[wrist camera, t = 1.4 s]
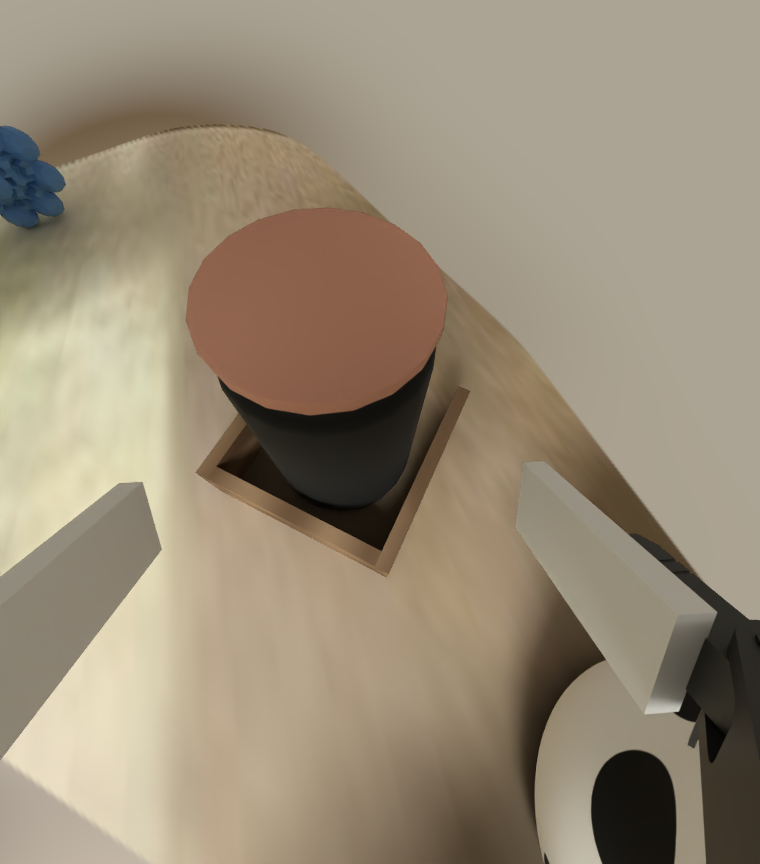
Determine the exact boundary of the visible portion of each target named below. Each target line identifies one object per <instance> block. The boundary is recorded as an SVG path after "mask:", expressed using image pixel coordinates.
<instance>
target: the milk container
mask: <svg viewBox="0 0 760 864" xmlns="http://www.w3.org/2000/svg"><path fill="white" fill-rule="evenodd" d="M700 711H701V707H700V706H699V705H698V704H697V703H696V701H695V700H694V699H693V698H692V697H691V695H690V694H689V693H688V692H686V694H685V697H684V699H683V702H682V705H681V707H680V710H679V712H667V713H656V714H645V715H644V714H643V712H642V711H641V709H640V708H639V706H638V705H637V704H636V702H635V701H634V699H633V698H632V696H631V695H630V693H629V692H628V691H627V689H626V688H625V686H624V685H623V683H622V682H621V680H620V679H619V677H618V676H617V675H616V673H615V672H614V670H613V669H612V667H611V666H610V664H609V663H608V662H607V660H605V661H602V662H600V663H598V664H596V665H594V666H592V667H591V668H589V669H588V670H586V671H585V672H584V673H582V674H581V675H580V676H579V677H577V678H576V679H575V680H574V681H573V682H572V683H571V684H570V686H569V687H568V688H567V689H566V690H565V691H564V693H563V694H562V696H561V697H560V699H559V700H558V702H557V703H556V705H555V707H554V709H553V711H552V713H551V715H550V717H549V719H548V722H547V724H546V727H545V730H544V733H543V736H542V740H541V743H540V747H539V753H538V758H537V764H536V775H535V814H536V824H537V832H538V838H539V844H540V850H541V854H542V858H543V862H544V864H706V853H705V837H704V820H703V804H702V787H701V771H700V754H699V740H698V741H697V744H696V746H695V748H692V747H690V746H688V741H689V737H690V735H691V732H692V730H693V728H694V725H695V723H696V720H697V718H698V716H699V713H700Z"/></svg>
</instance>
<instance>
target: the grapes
mask: <svg viewBox="0 0 760 864" xmlns="http://www.w3.org/2000/svg"><path fill="white" fill-rule="evenodd" d="M39 156H40V152H39V148H38V146H37V145H36V143H35V142H34V141H33V140H32V139H31V138H30V137H29V136H28V135H27V134H25V133H24V132H22V131H20V130H18V129H16V128H14V127H10V126H0V215H1V216H2V217H3V218H5V219H6V220H7V221H8V222H10V223H12V224H14V225H16V226H21V227H27V228H29V227H33V226H35V225H36V224H37V223H38V221H39V217H38V214H37V213H36V212H38V213H40V214H42V215H46V216H52V217H55V216H59V215H61V214H62V212H63V210H64V206H63V203H62V201H61V200H60V199H59V198H58V197H57V196H56V195H55V194H54V193H55V192H60V191H62V190H63V188H64V187H65V185H66V184H65V180H64V177H63V176H62V175H61V173H60V172H59V171H58V170H57V169H56V168H55V167H53V166H51V165H50V164H48V163H46V162H43V161H39V160H37V159H38V157H39ZM53 192H54V193H53Z"/></svg>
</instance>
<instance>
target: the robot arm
mask: <svg viewBox="0 0 760 864" xmlns="http://www.w3.org/2000/svg"><path fill="white" fill-rule="evenodd" d="M515 528H516V530H517V531H518V533H519V534H520V536H521V537H522V539H523V540H524V541H525V543H526V544H527V546H528V547H529V549H530V550H531V552H532V553H533V554H534V556H535V557H536V559H537V560H538V562H539V563H540V565H541V566H542V567H543V569H544V570H545V572H546V573H547V575H548V576H549V578H550V579H551V581H552V582H553V583H554V585H555V586H556V588H557V589H558V591H559V592H560V594H561V595H562V596H563V598H564V599H565V601H566V602H567V604H568V605H569V607H570V608H571V609H572V611H573V612H574V614H575V615H576V617H577V618H578V620H579V621H580V622H581V624H582V625H583V627H584V628H585V630H586V631H587V633H588V634H589V636H590V637H591V638H592V640H593V641H594V643H595V644H596V646H597V647H598V649H599V650H600V651H601V653H602V654H603V656H604V657H605V659H606V660H607V662H608V663H609V664H610V666H611V667H612V669H613V670H614V672H615V673H616V675H617V676H618V677H619V679H620V680H621V682H622V683H623V685H624V686H625V688H626V689H627V691H628V692H629V693H630V695H631V696H632V698H633V699H634V701H635V702H636V704H637V705H638V706H639V708H640V709H641V711H642V712H643V714H644V715H645V714H656V713H667V712H679V710H680V707H681V705H682V702H683V699H684V697H685V694H686V692H688V693H689V694H690V695H691V697H692V698H693V699H694V700H695V701H696V703H697V704H698V705H699V706H700V707H701V711H700V713H699V716H698V718H697V720H696V723H695V725H694V728H693V730H692V732H691V735H690V737H689V741H688V746H690V747H692V748H695V746H696V744H697V741H698V740H699V754H700V771H701V787H702V804H703V820H704V837H705V853H706V864H760V620H749V619H748V618H746V617H745V616H744V615H743V614H741V613H740V612H739V611H738V610H737V609H735V608H734V607H733V606H732V605H730V604H729V603H728V602H727V601H725V600H724V599H723V598H722V597H721V596H719V595H718V594H717V593H716V592H715V591H713V590H712V589H711V588H710V587H709V586H707V585H706V584H705V583H704V582H702V581H701V580H700V579H699V578H698V577H696V576H695V575H694V574H690V572H689V570H688V569H687V568H685V567H684V566H683V565H682V564H681V563H679V562H676V561H675V559H674V558H673V557H672V556H671V555H670V554H668V553H667V552H666V551H665V550H663V549H662V548H661V547H660V546H659V545H657V544H655V543H653V542H651V541H649V540H648V539H646V538H644V537H642V536H640V535H638V534H627V533H626V532H625V531H624V530H622V529H621V528H620V527H619V526H618V525H617V524H616V523H614V522H613V521H612V520H611V519H610V518H609V517H608V516H606V515H605V514H604V513H603V512H602V511H601V510H600V509H598V508H597V507H596V506H595V505H594V504H593V503H592V502H590V501H589V500H588V499H587V498H586V497H585V496H583V495H582V494H581V493H580V492H579V491H578V490H577V489H575V488H574V487H573V486H572V485H571V484H570V483H569V482H567V481H566V480H565V479H564V478H563V477H562V476H561V475H559V474H558V473H557V472H556V471H555V470H554V469H552V468H551V467H550V466H549V465H548V464H547V463H546V462H544V461H541V462H523V468H522V476H521V485H520V493H519V501H518V509H517V517H516V525H515ZM161 550H162V549H161V545H160V542H159V538H158V535H157V531H156V528H155V524H154V521H153V517H152V514H151V510H150V507H149V503H148V500H147V496H146V493H145V489H144V486H143V482H135V483H119V484H117V485H116V486H115V487H114V488H112V489H111V490H110V491H109V492H107V493H106V494H105V495H104V496H102V497H101V498H100V499H98V500H97V501H96V502H95V503H93V504H92V505H91V506H90V507H88V508H87V509H86V510H85V511H83V512H82V513H81V514H79V515H78V516H77V517H76V518H74V519H73V520H72V521H71V522H69V523H68V524H67V525H66V526H64V527H63V528H62V529H60V530H59V531H58V532H57V533H55V534H54V535H53V536H52V537H50V538H49V539H48V540H47V541H45V542H44V543H43V544H41V545H40V546H39V547H38V548H36V549H35V550H34V551H33V552H31V553H30V554H29V555H28V556H26V557H25V558H24V559H22V560H21V561H20V562H19V563H17V564H16V565H15V566H14V567H12V568H11V569H10V570H9V571H7V572H6V573H5V574H3V575H2V576H1V577H0V760H1V759H2V757H3V756H4V755H5V753H6V752H7V751H8V749H9V748H10V747H11V746H12V744H13V743H14V742H15V740H16V739H17V738H18V736H19V735H20V734H21V733H22V731H23V730H24V729H25V727H26V726H27V725H28V723H29V722H30V721H31V719H32V718H33V717H34V716H35V714H36V713H37V712H38V710H39V709H40V708H41V706H42V705H43V704H44V702H45V701H46V700H47V699H48V697H49V696H50V695H51V693H52V692H53V691H54V689H55V688H56V687H57V686H58V684H59V683H60V682H61V680H62V679H63V678H64V676H65V675H66V674H67V672H68V671H69V670H70V669H71V667H72V666H73V665H74V663H75V662H76V661H77V659H78V658H79V657H80V655H81V654H82V653H83V652H84V650H85V649H86V648H87V646H88V645H89V644H90V642H91V641H92V640H93V639H94V637H95V636H96V635H97V633H98V632H99V631H100V629H101V628H102V627H103V625H104V624H105V623H106V622H107V620H108V619H109V618H110V616H111V615H112V614H113V612H114V611H115V610H116V609H117V607H118V606H119V605H120V603H121V602H122V601H123V599H124V598H125V597H126V595H127V594H128V593H129V592H130V590H131V589H132V588H133V586H134V585H135V584H136V582H137V581H138V580H139V578H140V577H141V576H142V575H143V573H144V572H145V571H146V569H147V568H148V567H149V565H150V564H151V563H152V562H153V560H154V559H155V558H156V556H157V555H158V554H159V552H160V551H161Z"/></svg>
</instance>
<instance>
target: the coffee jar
mask: <svg viewBox="0 0 760 864" xmlns="http://www.w3.org/2000/svg"><path fill="white" fill-rule="evenodd" d="M447 299H448V298H447V294H446V291H445V287H444V284H443V280H442V277H441V273H440V270H439V267H438V266H437V264H436V263H435V262H434V260H433V259H432V258H431V256H430V255H429V254H428V253H427V251H426V250H425V248H424V247H423V246H422V244H421V243H420V242H418V241H417V240H415V239H414V238H412V237H411V236H410V235H408V234H407V233H405V232H404V231H403V230H401V229H400V228H399V227H397V226H396V225H394V224H392V223H389V222H386V221H384V220H381V219H379V218H376V217H373V216H371V215H368V214H365V213H362V212H355V211H348V210H341V209H335V208H315V209H300V210H291V211H287V212H284V213H280V214H277V215H273V216H270V217H266V218H263V219H259V220H257V221H255V222H253V223H252V224H250V225H248V226H246V227H244V228H242V229H241V230H239V231H237V232H235V233H233V234H231V235H230V236H228V237H227V238H226V239H225V240H224V241H223V242H222V243H221V244H220V245H219V246H217V247H216V248H215V249H214V250H213V251H212V252H211V253H210V254H209V255H208V256H207V257H206V258H205V259H204V260H203V262H202V264H201V266H200V268H199V270H198V272H197V274H196V275H195V277H194V279H193V281H192V283H191V285H190V287H189V293H188V303H187V313H186V322H187V325H188V328H189V331H190V334H191V337H192V340H193V343H194V345H195V348H196V351H197V354H198V355H199V356H200V357H201V358H202V359H203V360H204V361H205V363H206V364H207V365H208V366H209V367H210V368H211V369H212V370H213V371H214V372H215V373H216V375H217V376H218V379H219V382H220V384H221V387H222V390H223V391H224V393H225V394H226V396H227V397H228V398H229V400H230V401H231V403H232V404H233V405H234V407H235V408H236V410H237V411H238V413H239V414H240V415H241V417H242V418H243V420H244V421H245V422H246V424H247V425H248V427H249V428H250V430H251V431H252V432H253V434H254V435H255V437H256V438H257V439H258V441H259V442H260V444H261V445H262V447H263V448H264V449H265V451H266V452H267V454H268V455H269V456H270V458H271V459H272V461H273V462H274V464H275V465H276V466H277V468H278V469H279V471H280V472H281V473H282V475H283V476H284V478H285V479H286V481H287V482H288V483H289V484H290V485H291V486H292V487H293V489H294V490H295V491H296V492H297V493H298V494H299V495H300V496H301V497H303V498H304V499H306V500H308V501H310V502H312V503H314V504H315V505H317V506H319V507H325V508H330V509H336V510H346V509H353V508H361V507H364V506H366V505H368V504H370V503H372V502H374V501H376V500H378V499H380V498H382V497H383V496H384V495H385V494H386V493H387V492H388V491H389V490H390V489H391V488H392V487H393V486H394V485H395V484H396V483H397V481H398V480H399V478H400V476H401V474H402V472H403V470H404V468H405V466H406V463H407V459H408V456H409V452H410V449H411V445H412V442H413V438H414V434H415V431H416V427H417V424H418V420H419V417H420V413H421V410H422V406H423V402H424V399H425V395H426V392H427V388H428V385H429V381H430V378H431V374H432V371H433V366H434V359H435V351H436V345H437V343H438V341H439V340H440V337H441V335H442V332H443V330H444V322H445V315H446V307H447Z"/></svg>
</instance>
